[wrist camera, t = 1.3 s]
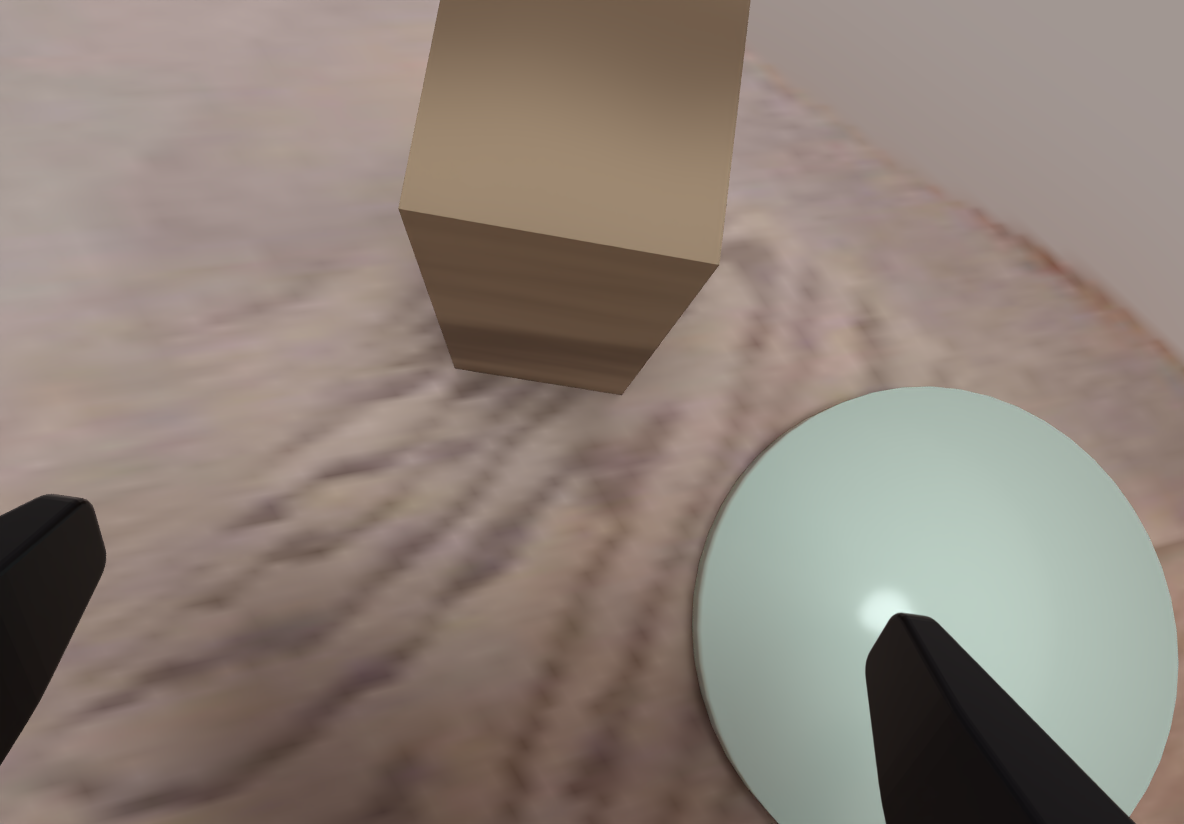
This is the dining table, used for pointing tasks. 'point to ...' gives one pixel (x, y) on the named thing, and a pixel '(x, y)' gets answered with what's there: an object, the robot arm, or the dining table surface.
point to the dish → (927, 594)
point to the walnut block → (572, 178)
